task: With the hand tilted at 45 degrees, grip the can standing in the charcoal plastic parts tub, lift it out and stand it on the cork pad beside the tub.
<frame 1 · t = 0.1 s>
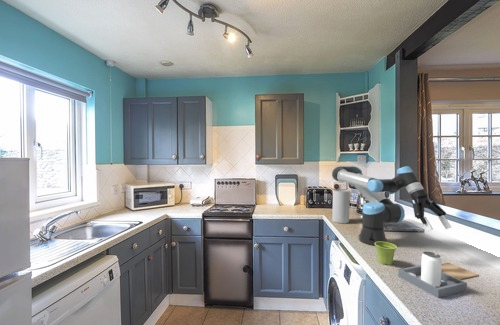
hand: (439, 229, 118), 15 cm above the worktop, tool tilted 35°, fingers open, 13 cm apart
cylinder vase: (340, 221, 185), on the worktop
plant pot: (384, 262, 114), on the worktop
tub: (430, 282, 96), on the worktop
pad: (453, 271, 106), on the worktop
can: (430, 283, 96), resting in tub
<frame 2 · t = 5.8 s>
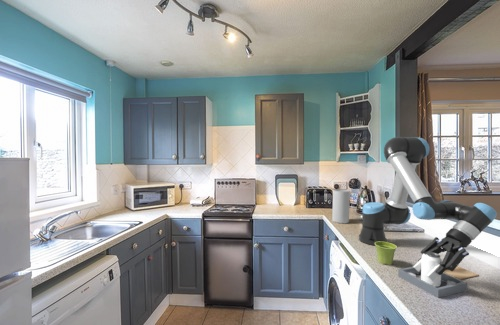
hand: (422, 273, 95), 4 cm above the worktop, tool tilted 45°, fingers closed on can, 6 cm apart
can: (430, 283, 96), resting in tub, touching gripper
everything else where it was.
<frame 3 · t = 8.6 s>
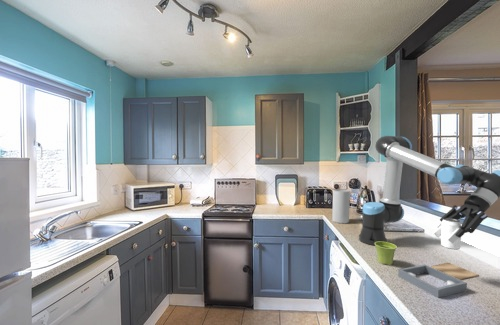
hand: (442, 238, 101), 17 cm above the worktop, tool tilted 45°, fingers closed on can, 6 cm apart
can: (450, 247, 101), point 13 cm above the worktop, touching gripper
everything else where it was.
when the fingers open (6 cm above the worktop, at t = 11.7 s): can drops 1 cm, resting on pad.
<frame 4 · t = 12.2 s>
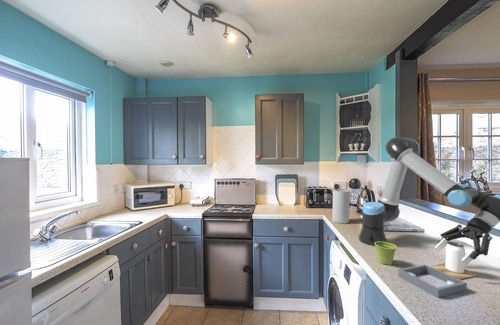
hand: (449, 255, 106), 7 cm above the worktop, tool tilted 45°, fingers open, 13 cm apart
can: (454, 270, 106), resting on pad
everything else where it was.
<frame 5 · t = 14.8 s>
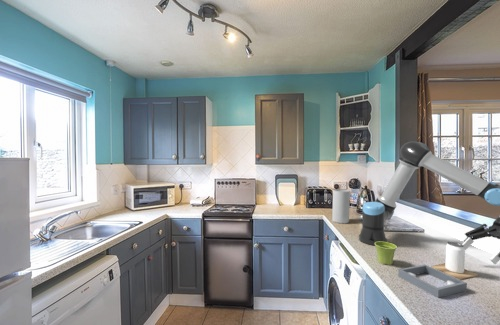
hand: (476, 255, 106), 7 cm above the worktop, tool tilted 45°, fingers open, 13 cm apart
nothing on the worktop moved.
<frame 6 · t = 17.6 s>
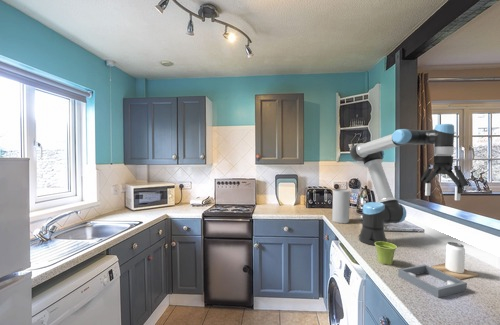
hand: (441, 197, 116), 32 cm above the worktop, tool pointing down, fingers open, 13 cm apart
nothing on the worktop moved.
at the end: can inside the target area on the pad (0.2 cm from its centre), point 0.3 cm above the pad's base; can tilted 0°; the gripper is holding nothing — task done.
